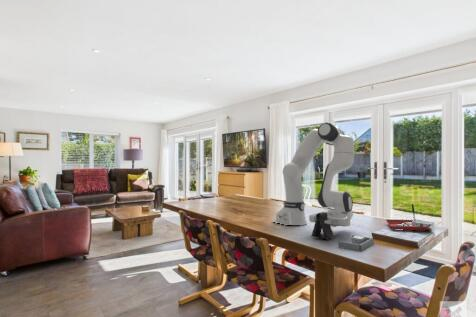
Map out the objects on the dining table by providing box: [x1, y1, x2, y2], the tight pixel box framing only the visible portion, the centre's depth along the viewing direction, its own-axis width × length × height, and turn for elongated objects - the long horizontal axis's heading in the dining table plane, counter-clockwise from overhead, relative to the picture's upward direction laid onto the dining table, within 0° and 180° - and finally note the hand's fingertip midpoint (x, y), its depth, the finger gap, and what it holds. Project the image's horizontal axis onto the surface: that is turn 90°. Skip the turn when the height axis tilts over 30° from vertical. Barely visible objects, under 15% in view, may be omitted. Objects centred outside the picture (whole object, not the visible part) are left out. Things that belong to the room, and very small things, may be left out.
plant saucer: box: [385, 218, 429, 232], centre depth 155 cm, size 18×18×3 cm
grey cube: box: [351, 235, 366, 245], centre depth 124 cm, size 4×4×4 cm
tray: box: [337, 234, 375, 252], centre depth 125 cm, size 10×15×2 cm
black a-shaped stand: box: [311, 211, 335, 240], centre depth 137 cm, size 9×6×12 cm, turn 43°
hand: (321, 222), depth 137 cm, fingers closed on black a-shaped stand
